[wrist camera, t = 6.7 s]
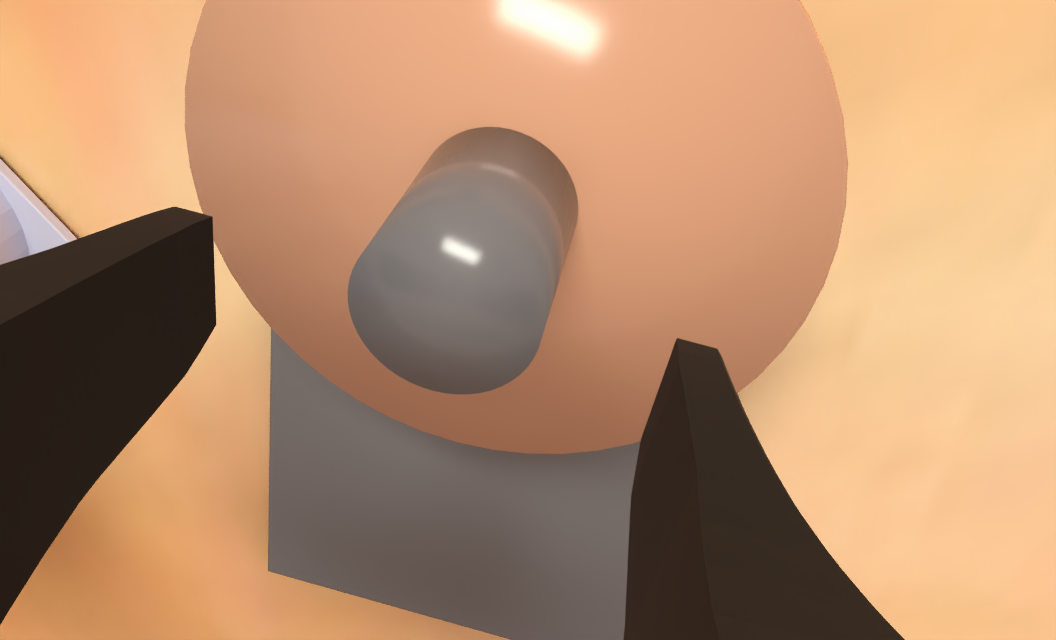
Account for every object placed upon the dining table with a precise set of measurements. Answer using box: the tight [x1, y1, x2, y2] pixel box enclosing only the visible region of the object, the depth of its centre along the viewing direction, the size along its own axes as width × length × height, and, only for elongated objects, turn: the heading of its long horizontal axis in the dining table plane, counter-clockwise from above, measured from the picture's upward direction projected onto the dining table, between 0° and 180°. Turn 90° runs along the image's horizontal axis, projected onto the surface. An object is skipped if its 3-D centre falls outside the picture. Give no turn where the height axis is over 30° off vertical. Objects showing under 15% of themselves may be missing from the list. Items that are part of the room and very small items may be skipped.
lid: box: [185, 0, 848, 454], centre depth 16 cm, size 13×13×5 cm
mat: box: [268, 328, 641, 640], centre depth 30 cm, size 14×14×1 cm
